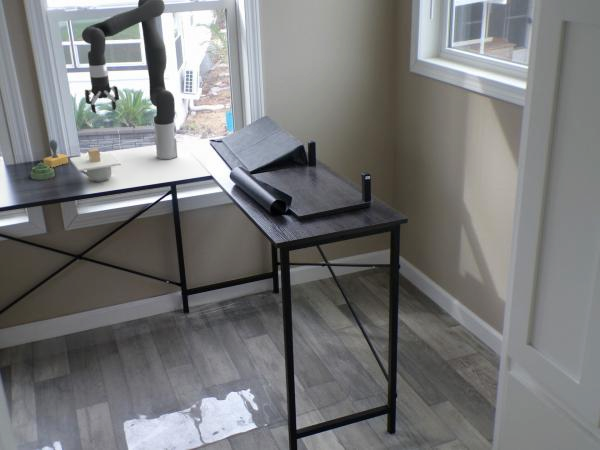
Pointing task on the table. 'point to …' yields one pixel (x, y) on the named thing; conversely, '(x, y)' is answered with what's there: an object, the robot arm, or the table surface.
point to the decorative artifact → (42, 172)
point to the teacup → (98, 174)
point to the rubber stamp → (55, 156)
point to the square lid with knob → (94, 160)
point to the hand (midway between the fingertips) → (104, 111)
